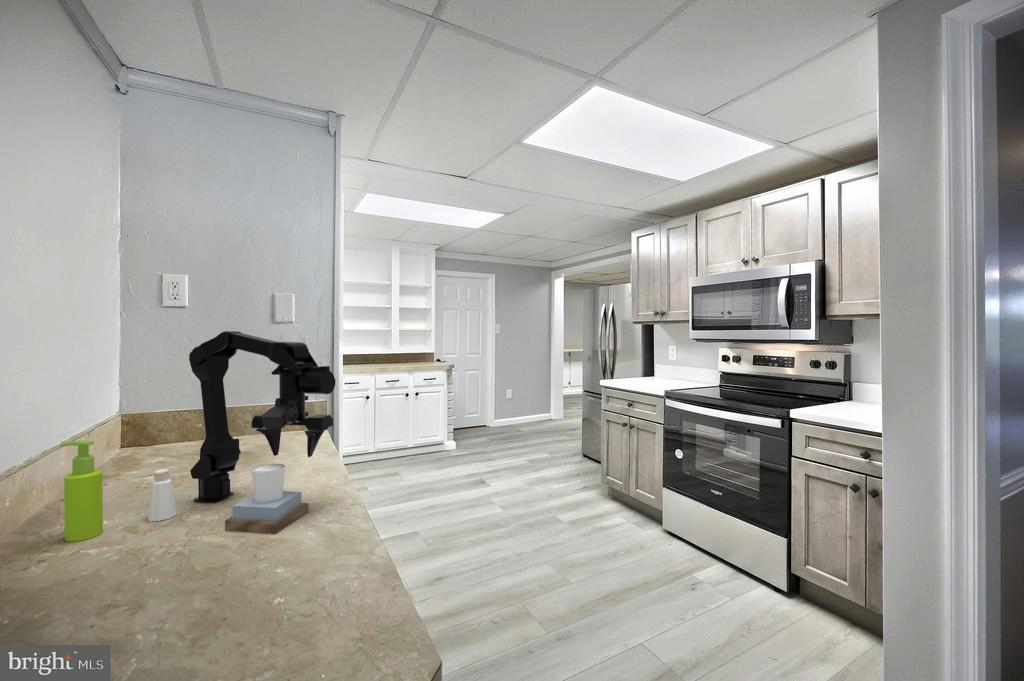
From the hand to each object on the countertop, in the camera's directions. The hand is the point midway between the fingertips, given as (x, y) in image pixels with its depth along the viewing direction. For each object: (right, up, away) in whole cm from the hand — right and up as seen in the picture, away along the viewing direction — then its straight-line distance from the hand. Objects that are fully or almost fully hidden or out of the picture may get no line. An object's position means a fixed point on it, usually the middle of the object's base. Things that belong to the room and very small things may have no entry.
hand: (292, 456), depth 113 cm
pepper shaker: (-27, -13, -7) cm, 31 cm away
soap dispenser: (-37, -13, -16) cm, 42 cm away
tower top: (-1, -10, -9) cm, 14 cm away
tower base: (-1, -13, -9) cm, 16 cm away
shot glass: (-1, -8, -9) cm, 12 cm away
